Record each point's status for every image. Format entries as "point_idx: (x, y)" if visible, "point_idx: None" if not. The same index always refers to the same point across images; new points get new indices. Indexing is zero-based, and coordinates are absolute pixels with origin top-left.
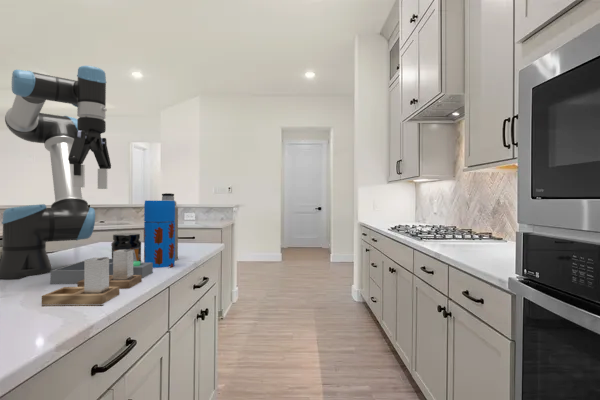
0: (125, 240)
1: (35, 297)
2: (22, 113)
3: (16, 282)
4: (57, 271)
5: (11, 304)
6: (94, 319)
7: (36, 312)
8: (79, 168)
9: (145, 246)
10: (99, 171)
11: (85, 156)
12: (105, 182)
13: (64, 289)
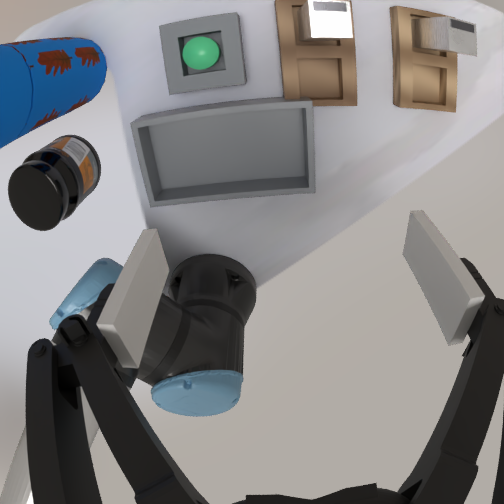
0: (61, 177)
1: (394, 150)
2: None
3: (278, 257)
4: (314, 177)
5: (430, 160)
6: (494, 14)
7: (470, 100)
8: (479, 286)
9: (72, 101)
10: (139, 342)
11: (481, 358)
12: (146, 255)
13: (412, 100)
